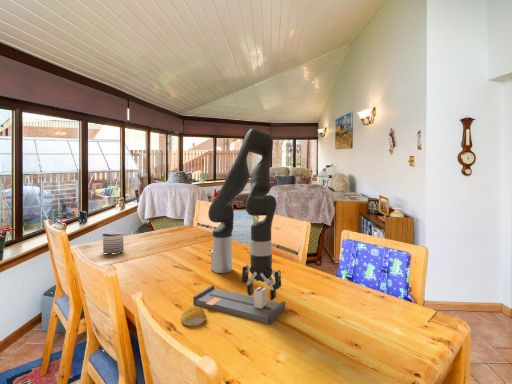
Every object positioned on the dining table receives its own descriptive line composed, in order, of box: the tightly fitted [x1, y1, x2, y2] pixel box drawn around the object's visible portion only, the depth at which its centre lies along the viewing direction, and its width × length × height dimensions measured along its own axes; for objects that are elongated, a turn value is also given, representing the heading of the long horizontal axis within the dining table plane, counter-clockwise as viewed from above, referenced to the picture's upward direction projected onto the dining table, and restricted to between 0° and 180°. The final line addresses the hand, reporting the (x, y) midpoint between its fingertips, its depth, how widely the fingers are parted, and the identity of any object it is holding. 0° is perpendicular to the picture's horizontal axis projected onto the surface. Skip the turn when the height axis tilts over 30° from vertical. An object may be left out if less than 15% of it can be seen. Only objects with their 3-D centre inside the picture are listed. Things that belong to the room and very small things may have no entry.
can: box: [102, 230, 125, 254], centre depth 188 cm, size 11×11×12 cm
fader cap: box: [253, 286, 268, 309], centre depth 114 cm, size 3×4×6 cm
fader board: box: [192, 285, 286, 325], centre depth 118 cm, size 32×13×3 cm, turn 62°
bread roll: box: [180, 305, 207, 327], centre depth 109 cm, size 8×9×4 cm
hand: (261, 297), depth 114 cm, fingers open, 8 cm apart
